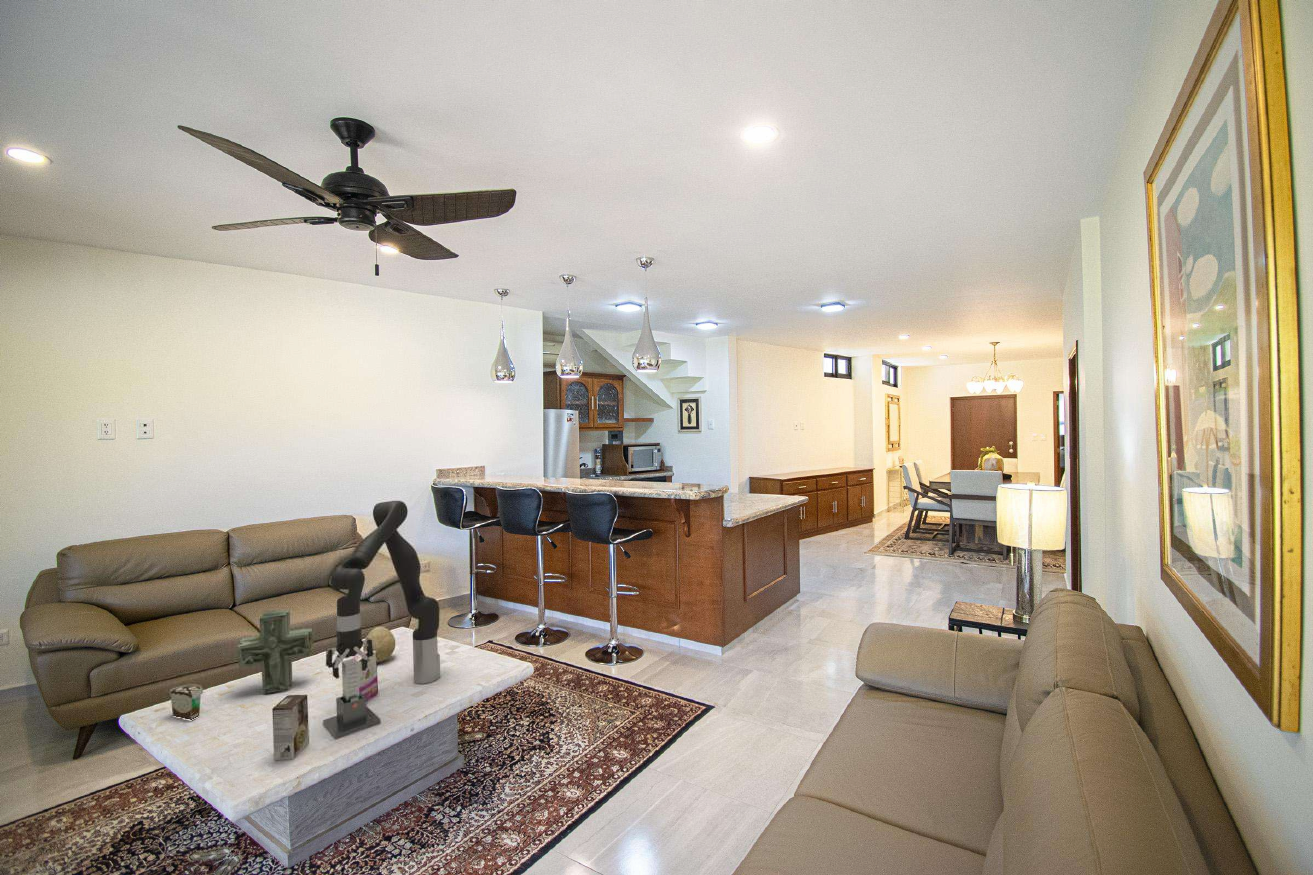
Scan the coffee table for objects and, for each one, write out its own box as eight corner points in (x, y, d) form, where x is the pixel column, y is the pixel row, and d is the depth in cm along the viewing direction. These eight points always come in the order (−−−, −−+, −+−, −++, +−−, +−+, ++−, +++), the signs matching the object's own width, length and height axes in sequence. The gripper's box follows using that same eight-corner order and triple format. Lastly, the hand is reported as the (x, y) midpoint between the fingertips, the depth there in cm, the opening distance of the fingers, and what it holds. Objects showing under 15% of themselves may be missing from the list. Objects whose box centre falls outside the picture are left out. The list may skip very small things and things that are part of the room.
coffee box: (288, 744, 187) (287, 694, 187) (309, 743, 188) (308, 693, 188) (272, 760, 178) (271, 708, 178) (294, 759, 179) (293, 706, 178)
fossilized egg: (370, 656, 261) (369, 623, 260) (399, 654, 262) (398, 621, 262) (358, 667, 248) (357, 632, 248) (390, 666, 249) (389, 631, 249)
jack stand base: (366, 709, 210) (365, 682, 210) (380, 723, 200) (379, 694, 200) (323, 724, 200) (322, 695, 200) (335, 739, 190) (334, 708, 190)
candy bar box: (367, 692, 224) (365, 649, 224) (378, 693, 223) (377, 650, 223) (346, 705, 213) (344, 661, 213) (358, 706, 212) (356, 662, 212)
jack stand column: (355, 702, 203) (354, 658, 203) (360, 706, 200) (359, 661, 199) (342, 706, 200) (341, 661, 200) (346, 710, 197) (345, 665, 196)
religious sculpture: (237, 701, 219) (235, 621, 219) (244, 689, 229) (242, 613, 229) (311, 688, 229) (309, 612, 228) (314, 677, 239) (312, 604, 239)
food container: (212, 713, 210) (211, 685, 210) (193, 721, 204) (192, 693, 204) (188, 708, 214) (187, 681, 214) (170, 716, 208) (169, 688, 208)
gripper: (367, 619, 207) (368, 664, 207) (322, 629, 197) (324, 677, 197) (374, 624, 202) (376, 670, 202) (329, 634, 192) (330, 683, 192)
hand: (350, 673), depth 200 cm, fingers open, 8 cm apart
